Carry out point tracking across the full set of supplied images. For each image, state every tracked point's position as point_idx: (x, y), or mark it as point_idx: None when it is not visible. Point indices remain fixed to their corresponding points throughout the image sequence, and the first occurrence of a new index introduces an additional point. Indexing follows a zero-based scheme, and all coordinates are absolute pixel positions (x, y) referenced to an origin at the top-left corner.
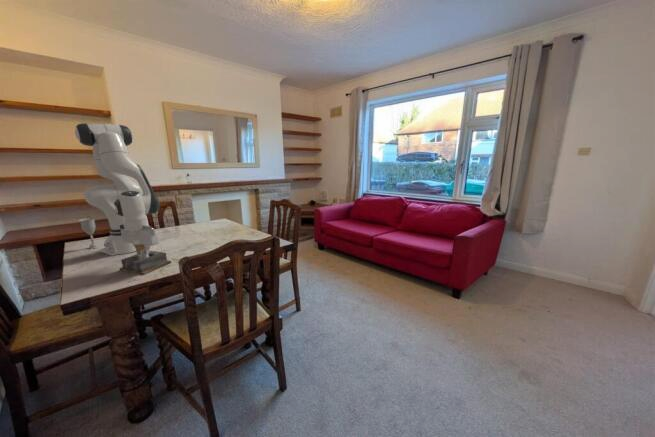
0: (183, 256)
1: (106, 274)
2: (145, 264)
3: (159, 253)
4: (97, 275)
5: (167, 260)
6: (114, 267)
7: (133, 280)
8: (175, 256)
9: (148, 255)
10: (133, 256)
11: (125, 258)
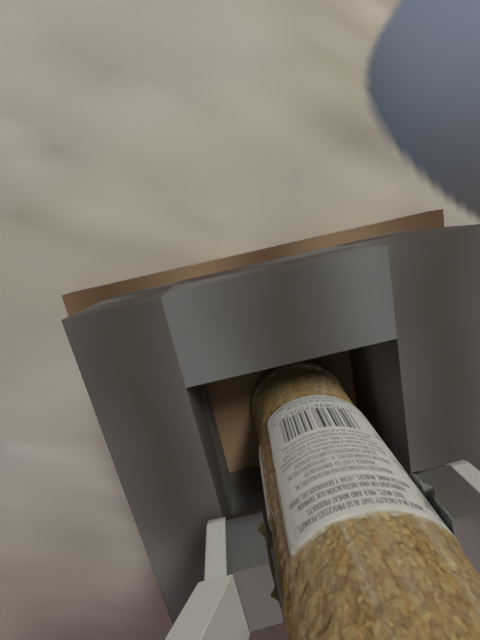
0: (388, 6)
1: (156, 601)
2: None
3: (416, 292)
4: (116, 636)
5: (391, 222)
6: (36, 536)
7: None
8: (289, 63)
9: (371, 427)
10: (181, 527)
11: (169, 596)
